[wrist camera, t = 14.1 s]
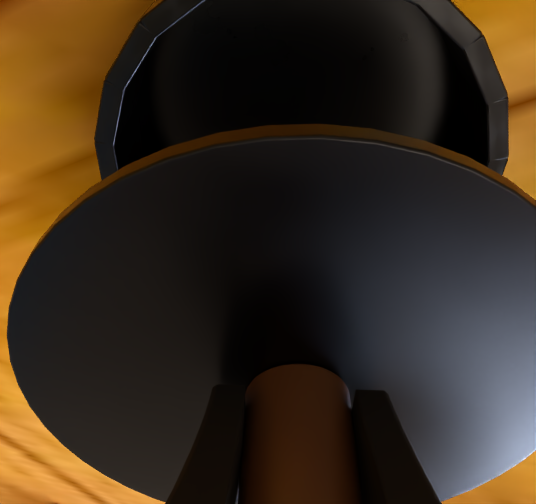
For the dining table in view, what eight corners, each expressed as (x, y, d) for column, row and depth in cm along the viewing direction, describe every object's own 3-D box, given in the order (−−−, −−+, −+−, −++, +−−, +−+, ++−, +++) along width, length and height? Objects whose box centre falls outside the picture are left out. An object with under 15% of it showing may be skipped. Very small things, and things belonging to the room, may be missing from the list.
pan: (524, -62, 15) (580, -42, 12) (428, 267, 22) (449, 326, 19) (97, -80, 15) (53, -63, 12) (146, 255, 22) (126, 313, 19)
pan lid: (701, 120, 9) (997, 313, 5) (484, 497, 17) (539, 676, 13) (-62, 94, 9) (-304, 265, 5) (85, 482, 17) (31, 656, 13)
